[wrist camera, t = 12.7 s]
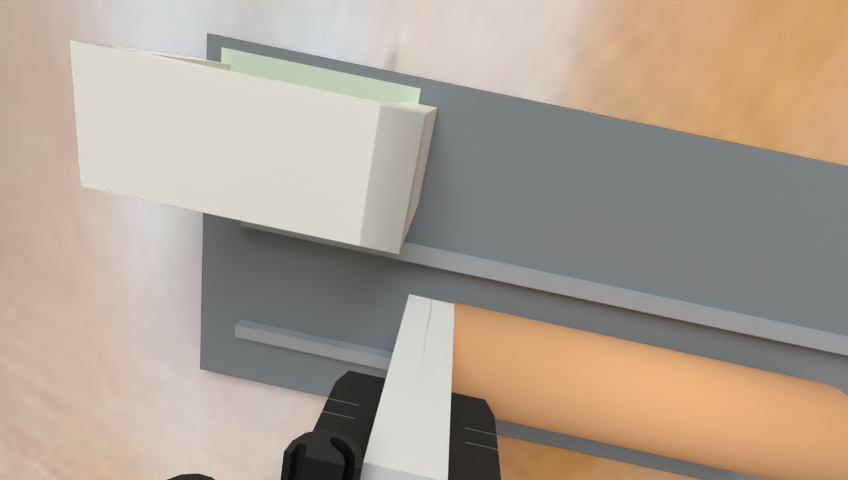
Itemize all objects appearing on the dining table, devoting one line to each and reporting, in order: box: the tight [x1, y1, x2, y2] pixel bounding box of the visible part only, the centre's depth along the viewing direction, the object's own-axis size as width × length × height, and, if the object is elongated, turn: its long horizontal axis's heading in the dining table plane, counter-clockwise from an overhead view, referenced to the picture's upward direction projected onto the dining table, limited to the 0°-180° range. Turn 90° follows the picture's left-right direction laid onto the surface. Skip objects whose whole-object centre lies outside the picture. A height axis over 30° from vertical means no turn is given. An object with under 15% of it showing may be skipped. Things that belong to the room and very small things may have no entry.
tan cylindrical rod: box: [451, 302, 848, 480], centre depth 13 cm, size 12×3×3 cm, turn 79°
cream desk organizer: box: [70, 40, 437, 254], centre depth 11 cm, size 3×7×4 cm, turn 79°
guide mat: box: [200, 33, 848, 480], centre depth 14 cm, size 24×12×1 cm, turn 79°
